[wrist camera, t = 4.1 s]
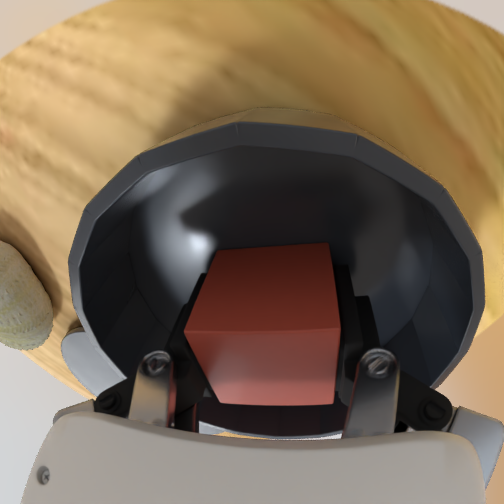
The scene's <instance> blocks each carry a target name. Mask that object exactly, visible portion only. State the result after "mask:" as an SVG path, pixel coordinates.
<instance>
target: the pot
mask: <svg viewBox="0 0 504 504" xmlns="http://www.w3.org/2000/svg"><path fill="white" fill-rule="evenodd" d="M326 242H327V243H328V244H329V248H330V254H331V260H332V267H333V269H334V265H344V264H348V266H349V271H350V275H351V280H352V285H353V289H354V294H355V296H365V295H368V296H369V298H370V301H371V306H372V310H373V314H374V318H375V322H376V327H377V331H378V336H379V340H380V345H381V347H383V348H387V349H389V350H391V351H393V352H394V353H395V354H396V355H397V357H398V359H399V363H400V369H401V370H403V371H404V372H406V373H408V374H409V375H411V376H412V377H414V378H416V379H417V380H419V381H421V382H422V383H424V384H426V385H427V386H429V387H431V388H432V389H434V390H435V389H436V388H437V387H439V385H441V384H442V382H443V381H444V380H445V379H446V378H447V377H448V375H449V374H450V373H451V372H452V371H453V370H454V368H455V367H456V366H457V365H458V363H459V362H460V361H461V360H462V358H463V357H464V356H465V354H466V353H467V352H468V350H469V348H470V346H471V343H472V341H473V338H474V336H475V333H476V330H477V328H478V325H479V322H480V320H481V317H482V314H483V311H484V308H485V282H484V266H483V255H482V250H481V247H480V245H479V243H478V241H477V239H476V237H475V236H474V234H473V232H472V230H471V228H470V227H469V225H468V223H467V221H466V220H465V218H464V216H463V215H462V213H461V211H460V210H459V208H458V207H457V205H456V203H455V202H454V200H453V199H452V197H451V196H450V194H449V193H448V191H447V190H446V188H444V187H443V185H442V184H440V183H439V182H438V181H437V180H436V179H434V178H433V177H432V176H431V175H429V174H428V173H427V172H426V171H424V170H423V169H422V168H421V167H419V166H418V165H417V164H415V163H414V162H413V161H412V160H410V159H409V158H408V157H406V156H405V155H403V154H402V153H401V152H399V151H398V150H397V149H395V148H394V147H392V146H391V145H389V144H387V143H386V142H384V141H382V140H381V139H379V138H377V137H375V136H373V135H372V134H370V133H368V132H366V131H365V130H363V129H361V128H359V127H357V126H355V125H353V124H351V123H349V122H347V121H345V120H343V119H341V118H339V117H337V116H335V115H331V114H326V113H319V112H313V111H308V110H299V109H288V108H268V107H260V108H254V109H250V110H246V111H242V112H238V113H235V114H231V115H226V116H223V117H220V118H218V119H214V120H211V121H208V122H205V123H202V124H198V125H195V126H193V127H191V128H189V129H187V130H185V131H183V132H181V133H178V134H176V135H174V136H172V137H170V138H168V139H166V140H164V141H162V142H160V143H159V144H157V145H155V146H153V147H151V148H149V149H147V150H145V151H144V152H142V153H140V154H139V155H137V156H135V157H134V158H133V159H132V160H131V161H130V162H129V163H128V164H127V165H126V166H125V167H124V168H123V169H121V170H120V171H119V172H118V173H117V174H116V175H115V176H114V177H113V178H112V179H111V180H110V181H109V182H108V183H107V184H106V185H105V186H104V187H103V188H102V189H101V190H100V191H99V192H98V193H97V195H96V196H95V197H94V198H93V199H92V200H91V201H90V202H89V203H88V204H87V205H86V207H85V208H84V211H83V214H82V217H81V220H80V222H79V225H78V228H77V231H76V235H75V238H74V241H73V244H72V248H71V251H70V254H69V258H68V267H69V277H70V286H71V293H72V301H73V306H74V309H75V311H76V313H77V316H78V318H79V320H80V322H81V324H82V326H83V328H84V330H85V332H86V334H87V336H88V338H89V340H90V342H91V344H92V345H93V347H94V348H95V349H96V350H97V352H98V353H99V354H100V355H101V356H102V357H103V359H104V360H105V361H106V362H107V363H108V364H109V365H110V367H111V368H112V369H113V370H114V371H115V372H116V373H117V374H118V375H119V376H120V377H121V378H122V379H123V380H124V379H126V378H128V377H130V376H132V375H133V374H135V373H137V369H138V364H139V362H140V360H141V358H142V357H143V356H144V355H145V354H147V353H148V352H150V351H152V350H156V349H163V350H164V348H165V345H166V343H167V341H168V338H169V336H170V334H171V332H172V329H173V327H174V325H175V322H176V320H177V318H178V316H179V313H180V311H181V309H182V307H183V305H184V304H186V303H188V300H189V298H190V296H191V294H192V291H193V289H194V287H195V285H196V282H197V280H198V278H199V276H200V274H201V273H208V271H209V269H210V266H211V264H212V262H213V259H214V257H215V255H216V252H217V251H218V250H229V249H243V248H257V247H270V246H284V245H298V244H312V243H326ZM347 411H348V406H347V405H345V404H344V403H342V402H341V398H339V391H335V395H334V402H333V404H322V405H246V404H230V403H221V402H220V401H219V399H218V398H217V396H216V394H215V392H214V391H213V395H212V397H204V396H203V399H202V400H201V401H199V424H202V425H205V426H208V427H211V428H215V429H218V430H222V431H226V432H229V433H233V434H238V435H245V436H252V437H261V438H270V439H305V438H320V437H327V436H332V435H337V434H341V433H342V432H343V428H344V424H345V420H346V415H347Z"/></svg>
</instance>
